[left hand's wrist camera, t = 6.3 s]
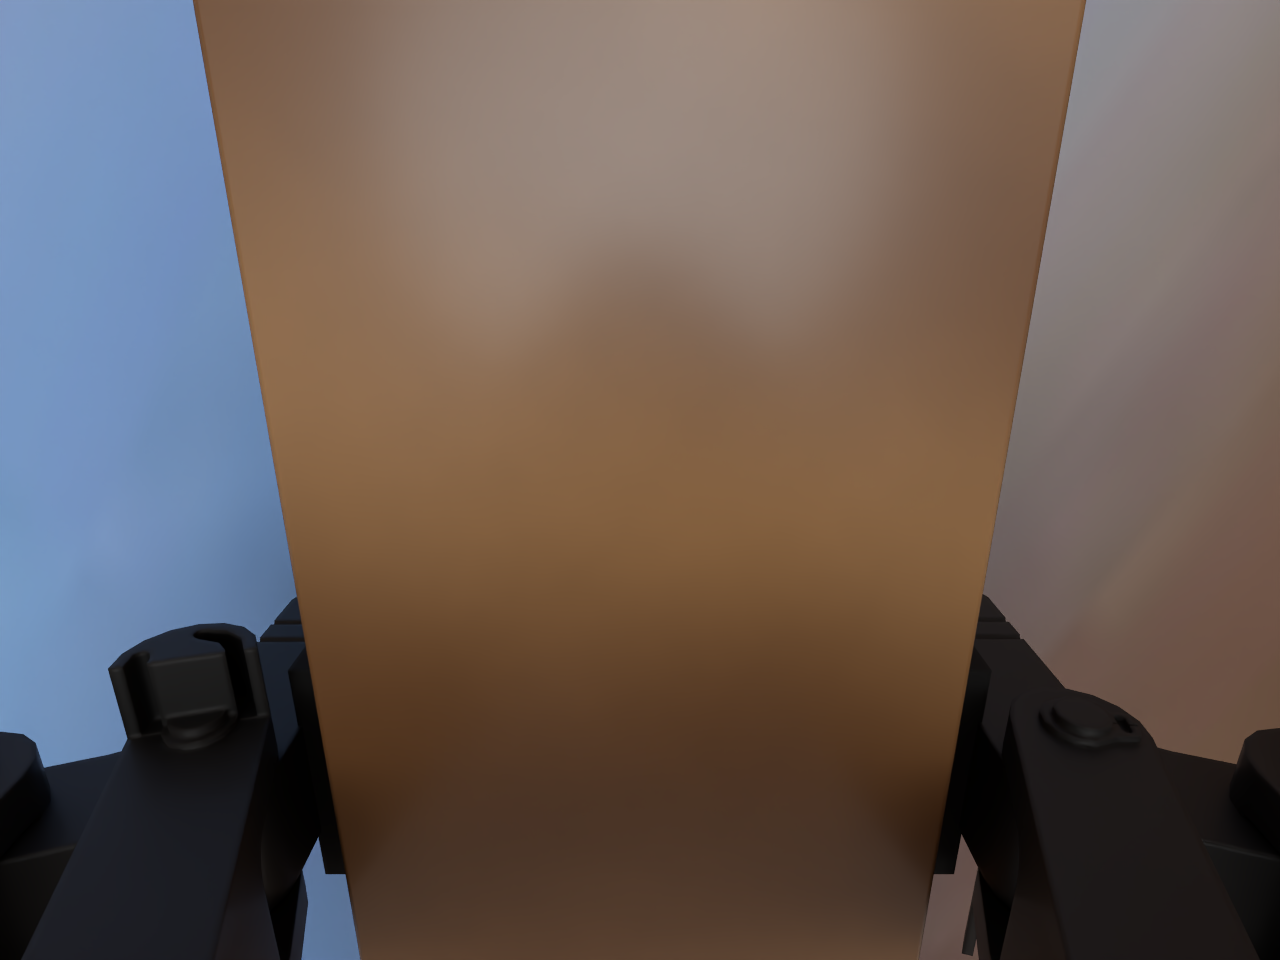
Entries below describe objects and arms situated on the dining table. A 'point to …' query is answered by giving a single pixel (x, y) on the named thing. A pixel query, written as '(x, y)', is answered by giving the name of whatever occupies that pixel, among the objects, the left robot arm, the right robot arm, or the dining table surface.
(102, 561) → the dining table surface
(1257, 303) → the dining table surface
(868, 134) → the beam
